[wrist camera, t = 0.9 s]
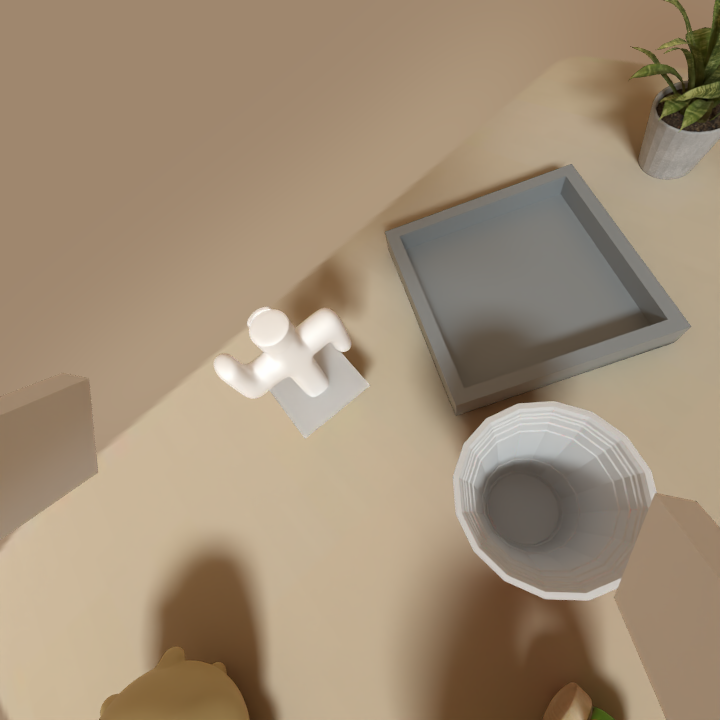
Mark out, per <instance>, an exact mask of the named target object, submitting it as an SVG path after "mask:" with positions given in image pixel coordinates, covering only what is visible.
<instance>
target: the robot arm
mask: <svg viewBox="0 0 720 720" xmlns="http://www.w3.org/2000/svg"><path fill="white" fill-rule="evenodd" d="M96 473H98V466H97V456H96V446H95V435H94V425H93V415H92V404H91V394H90V384H89V378H86V377H81V376H76V375H71V374H66V373H61V374H58V375H56V376H53V377H50V378H48V379H45V380H42V381H40V382H37V383H34V384H32V385H29V386H27V387H24V388H21V389H19V390H16V391H13V392H11V393H8V394H5V395H3V396H0V540H1V539H3V538H4V537H6V536H7V535H8V534H10V533H11V532H13V531H14V530H16V529H17V528H19V527H20V526H21V525H23V524H24V523H26V522H27V521H29V520H30V519H32V518H33V517H34V516H36V515H37V514H39V513H40V512H42V511H43V510H45V509H46V508H47V507H49V506H50V505H52V504H53V503H55V502H56V501H58V500H59V499H60V498H62V497H63V496H65V495H66V494H68V493H69V492H70V491H72V490H73V489H75V488H76V487H78V486H79V485H81V484H82V483H83V482H85V481H86V480H88V479H89V478H91V477H92V476H94V475H95V474H96ZM614 598H615V601H616V603H617V605H618V608H619V610H620V612H621V615H622V617H623V619H624V622H625V624H626V626H627V629H628V631H629V633H630V636H631V638H632V641H633V643H634V645H635V648H636V650H637V652H638V655H639V657H640V659H641V662H642V664H643V666H644V669H645V671H646V673H647V676H648V678H649V680H650V683H651V685H652V687H653V690H654V692H655V694H656V697H657V699H658V701H659V704H660V706H661V708H662V711H663V713H664V715H665V718H666V720H720V528H719V526H718V525H717V524H716V523H715V522H714V521H713V520H712V518H711V517H710V516H709V515H708V514H707V513H706V512H705V510H704V509H703V508H702V507H701V506H700V505H699V503H698V502H697V501H692V500H687V499H682V498H677V497H673V496H668V495H663V494H658V493H655V494H654V497H653V499H652V502H651V504H650V507H649V510H648V512H647V515H646V517H645V520H644V522H643V525H642V527H641V530H640V533H639V535H638V538H637V540H636V543H635V545H634V548H633V550H632V553H631V555H630V558H629V561H628V563H627V566H626V568H625V571H624V573H623V576H622V578H621V581H620V583H619V586H618V589H617V591H616V594H615V596H614Z"/></svg>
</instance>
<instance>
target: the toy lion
mask: <svg viewBox="0 0 720 720" xmlns="http://www.w3.org/2000/svg"><path fill="white" fill-rule="evenodd" d="M543 720H615V719H614V718H613V717H611V716H610V715H609V714H607V713H606V712H605V711H603V710H601V709H599V708H596V707H594V706H592V701H591V698H590V697H589V696H588V694H587V693H586V692H584V691H583V690H582V689H581V688H580V687H579V686H578V685H577V684H576V683H573V682H571V683H568V684H567V685H565V686H564V687H563V688H562V689H561V690H559V692H558V693H557V694H556V695H555V696H554V697H553V699H552V700H551V702H550V703H549V705H548V707H547V709H546V711H545V714H544V716H543Z"/></svg>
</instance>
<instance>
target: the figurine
mask: <svg viewBox="0 0 720 720" xmlns="http://www.w3.org/2000/svg"><path fill="white" fill-rule="evenodd" d="M247 325H248V327H249V335H250V338H251V340H252V341H253V342H254V343H255V344H256V345H257V346H258V347H259V348H260V349H261V350H262V351H263V353H262V354H261V355H259V356H258V357H257V358H256V359H254V360H253V361H252V362H250V363H248V364H242V363H240V362H239V361H238V360H237V359H235V358H234V357H233V356H231V355H229V354H225V353H224V354H219V355H218V356H217V357H216V358H215V360H214V369H215V371H216V373H217V375H218V376H219V377H220V378H221V379H222V380H223V381H224V382H226V383H227V384H228V385H230V386H231V387H232V388H234V389H235V390H237V391H238V392H239V393H241V394H242V395H244V396H246V397H248V398H252V399H254V398H259V397H261V396H262V395H264V394H265V393H267V392H268V391H269V390H270V392H271V393H272V395H273V396H274V397H275V399H276V400H277V401H278V403H279V404H280V405H281V407H282V408H283V409H284V411H285V412H286V414H287V415H288V416H289V418H290V419H291V420H292V422H293V423H294V424H295V426H296V427H297V429H298V430H299V431H300V433H301V434H302V435H303V437H304V438H305V439H306V438H307V437H308V436H309V435H310V434H312V433H313V432H314V431H315V430H317V429H318V428H319V427H320V426H322V425H323V424H324V423H325V422H326V421H328V420H329V419H330V418H331V417H333V416H334V415H335V414H336V413H337V412H339V411H340V410H341V409H342V408H343V407H345V406H346V405H347V404H348V403H350V402H351V401H352V400H353V399H354V398H356V397H357V396H358V395H359V394H360V393H362V392H363V391H364V390H365V389H366V388H368V387H369V386H370V385H369V383H368V382H367V381H366V380H365V379H364V378H363V377H362V375H361V374H360V373H359V372H358V371H357V370H356V369H355V368H354V366H353V365H352V364H351V363H350V362H349V361H348V360H347V358H346V357H345V356H344V355H343V354H342V353H341V352H346V351H348V350H349V349H350V348H351V339H350V337H349V335H348V333H347V330H346V328H345V326H344V324H343V322H342V321H341V319H340V317H339V316H338V315H337V314H336V313H335V312H334V311H333V310H331V309H329V308H321V309H319V310H317V311H316V312H314V313H313V314H312V315H311V316H309V317H308V318H307V319H305V320H304V321H303V322H302V323H300V324H299V325H298V326H296V327H295V328H294V326H293V324H292V323H291V321H290V320H289V318H288V317H287V316H286V314H285V313H284V312H282V311H280V310H277V309H272V308H271V307H268V306H267V307H261V308H259V309H257V310H255V311H254V312H253V313H252V314H251V315H250V317H249V318H248V321H247Z"/></svg>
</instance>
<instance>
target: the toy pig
mask: <svg viewBox="0 0 720 720" xmlns="http://www.w3.org/2000/svg"><path fill="white" fill-rule="evenodd" d="M226 674H227V672H226V667H225V665H224V664H223V663H221V662H215V663H213V664H212V665H211V664H209V663H206V662H202V661H195V660H185V652H184V650H183V649H182V648H181V647H178V646H175V647H172V648H170V649H168V650H167V651H166V652H165V654H164V655H163V656H162V658H161V660H160V661H159V663H158V665H157V666H156V667H155V668H154V669H153V670H151V671H149V672H147V673H145V674H144V675H142V676H141V677H139V678H138V679H136V680H135V681H133V682H132V683H131V684H129V685H128V686H127V687H126V688H125V689H124V690H123V691H122V692H121V693H120V694H114V695H112V696H110V697H108V698H107V699H106V700H105V701H104V703H103V704H102V707H101V710H100V715H101V717H100V719H99V720H250V719H249V714H248V710H247V707H246V704H245V701H244V699H243V697H242V694H241V693H240V691H239V689H238V687H237V686H236V685H235V683H234V682H233V681H232V680H231V678H230V677H229V676H228V675H226Z"/></svg>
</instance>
